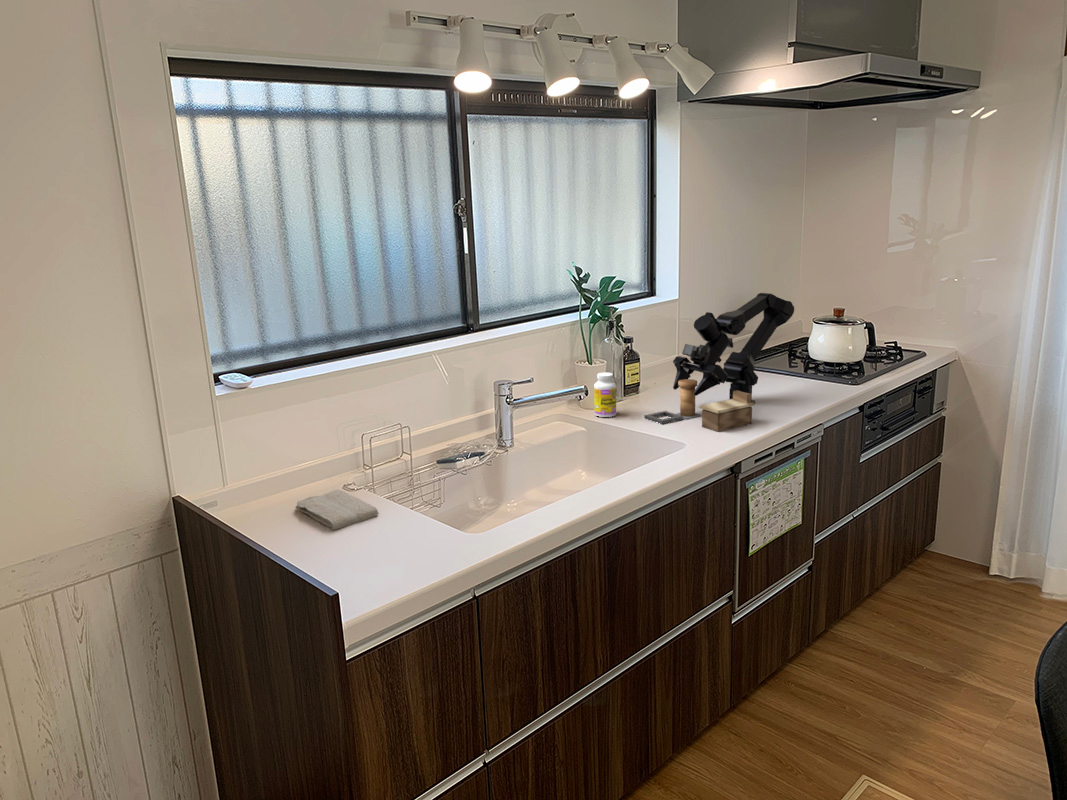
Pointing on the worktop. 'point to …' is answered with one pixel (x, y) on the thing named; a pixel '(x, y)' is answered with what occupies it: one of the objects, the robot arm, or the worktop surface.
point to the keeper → (664, 413)
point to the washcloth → (336, 509)
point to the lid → (730, 403)
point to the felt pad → (690, 416)
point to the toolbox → (726, 419)
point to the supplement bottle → (605, 395)
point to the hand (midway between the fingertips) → (684, 391)
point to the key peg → (687, 397)
